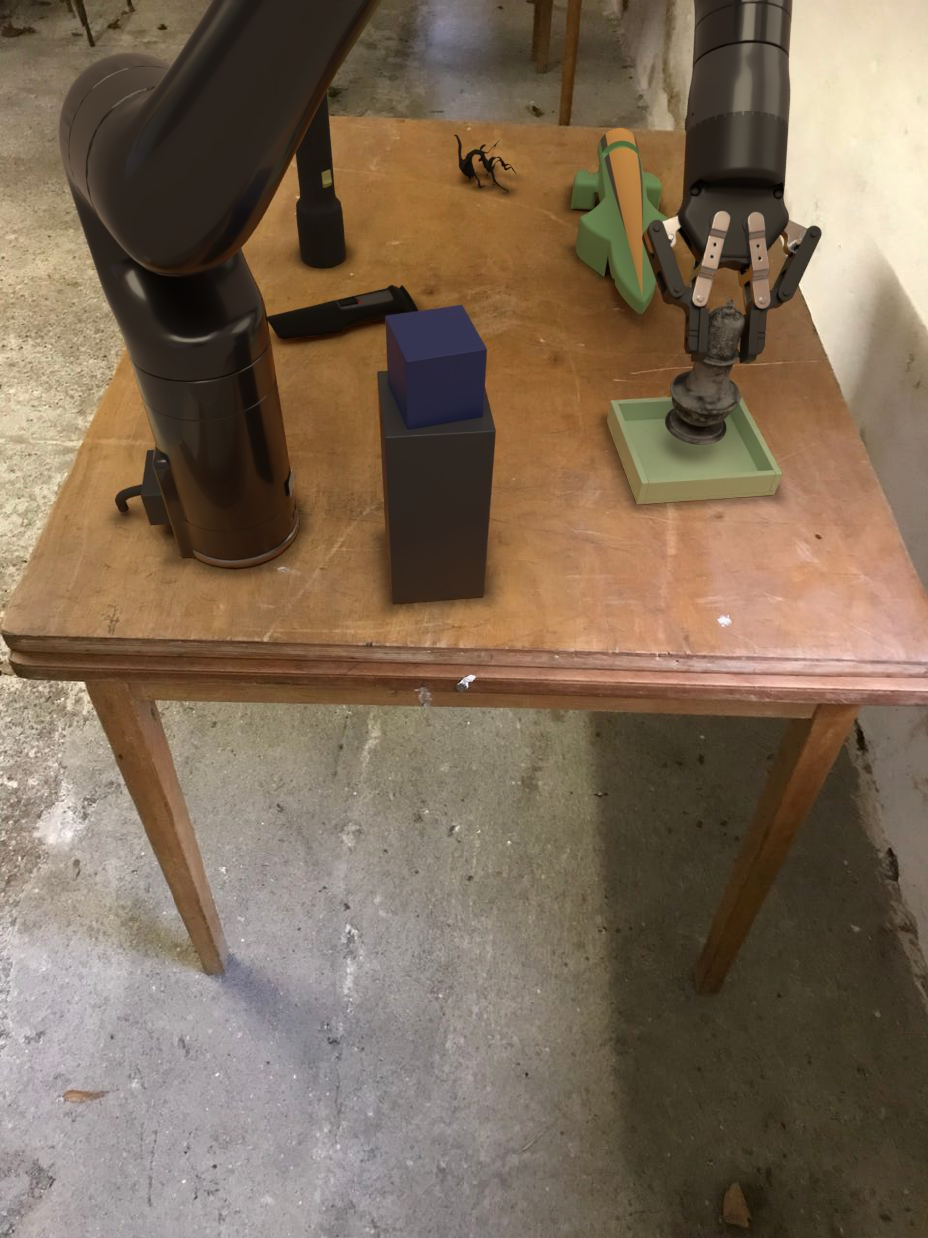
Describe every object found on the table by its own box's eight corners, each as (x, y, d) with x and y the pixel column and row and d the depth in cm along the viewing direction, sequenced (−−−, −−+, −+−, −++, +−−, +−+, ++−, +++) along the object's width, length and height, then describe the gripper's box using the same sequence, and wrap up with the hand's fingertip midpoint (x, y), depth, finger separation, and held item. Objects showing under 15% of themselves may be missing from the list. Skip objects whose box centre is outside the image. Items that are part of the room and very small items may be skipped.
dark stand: (392, 604, 68) (385, 437, 56) (385, 538, 72) (377, 370, 60) (483, 597, 69) (496, 430, 56) (471, 532, 73) (480, 365, 61)
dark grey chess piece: (735, 448, 76) (778, 322, 66) (665, 445, 76) (699, 319, 66) (723, 404, 79) (763, 279, 70) (657, 402, 79) (688, 276, 70)
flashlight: (291, 255, 100) (320, 273, 98) (260, 3, 81) (295, 17, 79) (326, 240, 102) (355, 256, 100) (303, -9, 83) (338, 5, 81)
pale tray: (636, 504, 76) (642, 483, 74) (606, 421, 83) (610, 399, 81) (774, 495, 77) (782, 473, 75) (732, 413, 84) (739, 392, 82)
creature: (501, 172, 117) (444, 165, 114) (512, 129, 113) (454, 120, 110) (522, 200, 112) (463, 193, 109) (535, 156, 108) (474, 147, 105)
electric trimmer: (265, 334, 90) (260, 305, 88) (407, 301, 95) (406, 273, 92) (276, 354, 88) (271, 326, 86) (421, 319, 92) (421, 291, 90)
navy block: (407, 430, 56) (406, 361, 52) (387, 383, 59) (385, 315, 55) (483, 416, 57) (487, 348, 53) (459, 371, 60) (462, 304, 56)
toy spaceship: (686, 338, 92) (703, 271, 86) (584, 333, 92) (594, 266, 86) (652, 191, 112) (664, 129, 107) (568, 187, 112) (576, 125, 106)
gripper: (655, 102, 64) (643, 349, 66) (850, 109, 65) (833, 355, 66) (634, 146, 72) (624, 366, 74) (808, 152, 72) (794, 372, 74)
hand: (723, 359), depth 70 cm, fingers closed on dark grey chess piece, 3 cm apart
